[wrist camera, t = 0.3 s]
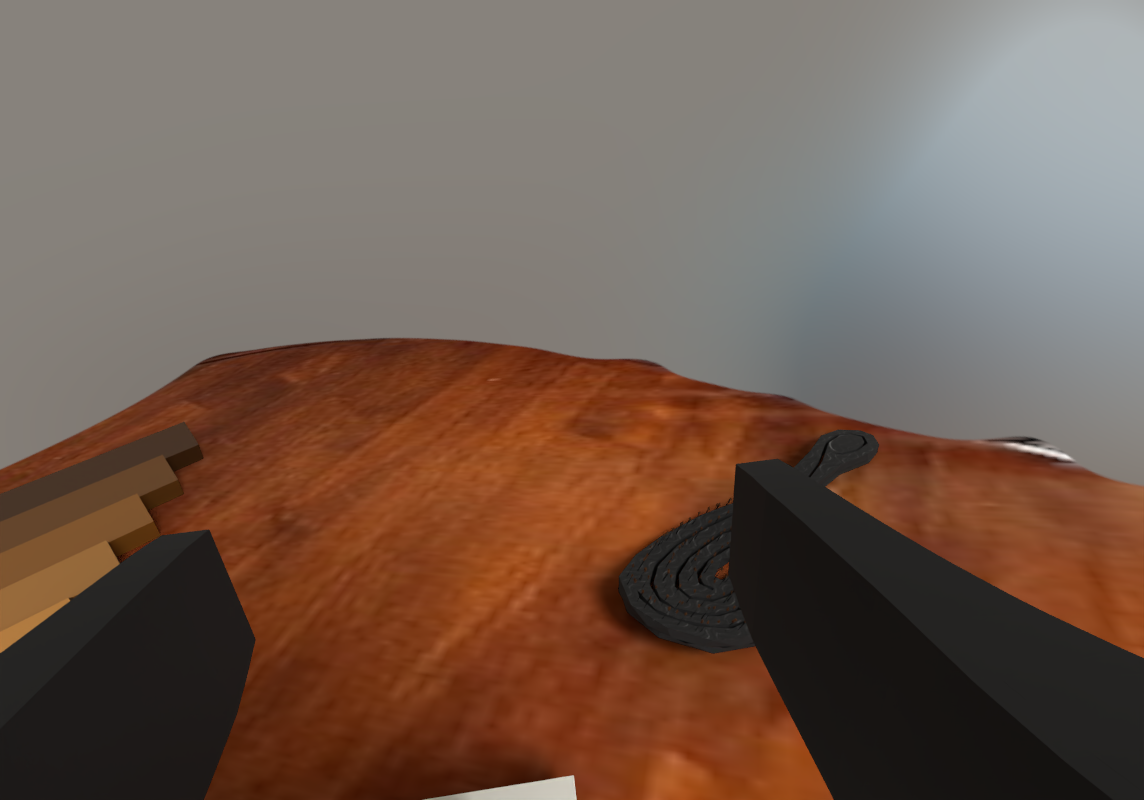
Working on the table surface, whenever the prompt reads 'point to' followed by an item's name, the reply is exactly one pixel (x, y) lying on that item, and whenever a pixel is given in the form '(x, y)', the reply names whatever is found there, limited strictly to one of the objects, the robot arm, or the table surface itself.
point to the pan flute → (82, 524)
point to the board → (523, 791)
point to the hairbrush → (715, 562)
